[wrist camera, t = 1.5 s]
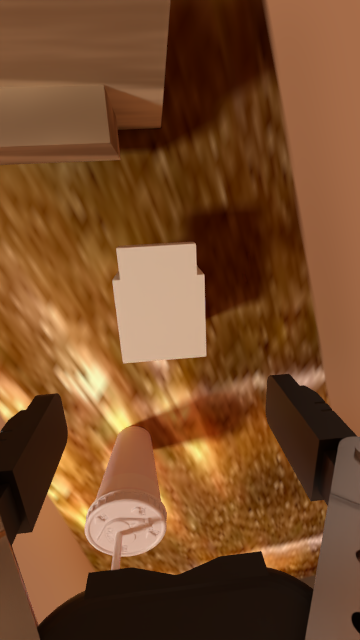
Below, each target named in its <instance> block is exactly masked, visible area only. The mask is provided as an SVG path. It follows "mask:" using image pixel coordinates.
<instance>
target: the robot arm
mask: <svg viewBox="0 0 360 640" xmlns="http://www.w3.org/2000/svg"><path fill="white" fill-rule="evenodd" d="M266 417H267V421H268V424H269V426H270V428H271V430H272V432H273V434H274V435H275V437H276V439H277V441H278V443H279V444H280V446H281V448H282V450H283V452H284V453H285V455H286V457H287V459H288V461H289V463H290V464H291V466H292V468H293V470H294V472H295V473H296V475H297V477H298V479H299V481H300V482H301V484H302V486H303V488H304V490H305V492H306V493H307V495H308V497H309V499H310V501H317V500H325V502H326V504H327V505H328V508H327V514H326V520H325V526H324V532H323V538H322V543H321V549H320V555H319V561H318V567H317V573H316V578H315V584H314V589H312V588H311V587H309V586H308V585H307V584H305V583H304V582H302V581H300V580H299V579H297V578H295V577H293V576H291V575H289V574H287V573H285V572H282V571H279V570H276V569H272V568H267V567H266V565H265V562H264V558H263V555H262V552H261V551H260V552H252V553H244V554H236V555H228V556H220V557H218V558H216V559H213V560H211V561H209V562H207V563H204V564H202V565H200V566H198V567H195V568H193V569H191V570H189V571H186V572H184V573H182V574H179V575H171V574H166V573H160V572H155V571H149V570H143V569H138V568H124V569H116V570H108V571H100V572H92V573H89V574H88V579H87V584H86V590H85V591H84V592H81V593H79V594H77V595H76V596H74V597H72V598H70V599H69V600H67V601H66V602H65V603H63V604H62V605H60V606H59V607H58V608H57V609H55V610H54V611H53V612H52V613H51V614H50V615H48V617H46V618H45V619H44V620H43V621H42V622H41V623H40V624H39V625H38V622H37V619H36V617H35V614H34V611H33V608H32V605H31V602H30V599H29V596H28V593H27V590H26V587H25V584H24V581H23V578H22V575H21V572H20V569H19V566H18V563H17V560H16V557H15V554H14V551H13V548H12V544H13V541H14V539H15V537H16V535H17V534H20V533H28V532H32V531H33V528H34V525H35V523H36V520H37V518H38V515H39V513H40V510H41V508H42V505H43V502H44V500H45V497H46V495H47V492H48V490H49V487H50V484H51V482H52V479H53V477H54V474H55V472H56V469H57V467H58V464H59V461H60V459H61V456H62V454H63V451H64V449H65V446H66V443H67V436H68V431H67V424H66V420H65V415H64V410H63V406H62V401H61V397H60V395H59V394H46V395H37V396H35V398H34V399H33V400H32V402H31V403H30V405H29V406H28V408H27V409H26V410H21V411H20V412H18V413H17V414H16V415H15V416H13V417H12V418H11V419H9V420H8V422H7V423H6V424H5V426H4V427H3V428H2V430H1V433H0V640H360V437H357V436H356V435H355V433H354V432H353V431H352V430H351V429H350V428H349V427H348V426H347V425H346V424H345V423H344V422H343V420H342V419H341V418H340V417H339V416H338V415H337V414H336V413H335V412H334V411H332V409H331V408H330V406H329V405H328V404H327V403H325V401H324V400H323V399H322V398H321V397H320V396H319V395H318V393H316V392H315V391H313V390H311V389H310V388H308V387H306V386H299V385H298V383H297V382H296V381H295V380H294V379H293V378H292V376H291V375H289V374H282V375H270V376H269V377H268V380H267V395H266Z"/></svg>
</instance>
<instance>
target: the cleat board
mask: <svg viewBox="0 0 360 640" xmlns="http://www.w3.org/2000/svg"><path fill="white" fill-rule="evenodd" d="M169 14H170V0H0V165H7V164H32V163H56V162H80V161H104V160H121V159H120V149H119V140H118V130H122V129H150V128H161V120H162V106H163V93H164V80H165V67H166V53H167V40H168V27H169Z"/></svg>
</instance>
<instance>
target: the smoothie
mask: <svg viewBox="0 0 360 640" xmlns="http://www.w3.org/2000/svg"><path fill="white" fill-rule="evenodd" d="M166 519H167V512H166V509H165V506H164V505H163V503H162V502H161V499H160V492H159V486H158V480H157V473H156V467H155V461H154V454H153V448H152V441H151V436H150V434H149V432H148V431H147V430H145V429H144V428H142V427H138V426H131V427H127V428H125V429H123V430H122V431H121V432H120V433H119V434H118V436H117V439H116V442H115V445H114V448H113V451H112V454H111V457H110V460H109V463H108V466H107V468H106V471H105V474H104V477H103V480H102V483H101V486H100V489H99V491H98V494H97V497H96V500H95V501H94V502H93V504H92V505H91V506H90V508H89V510H88V513H87V516H86V524H85V534H86V537H87V539H88V541H89V542H90V544H91V545H92V546H93V547H95V548H96V549H97V550H99V551H101V552H103V553H106V554H109V555H113V559H112V567H111V570H116V569H119V567H120V557H121V556H134V555H138V554H141V553H144V552H146V551H148V550H150V549H152V548H153V547H155V546H156V545H157V544H158V543H159V542H160V541H161V540H162V538H163V536H164V534H165V532H166Z"/></svg>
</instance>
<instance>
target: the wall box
mask: <svg viewBox="0 0 360 640" xmlns="http://www.w3.org/2000/svg"><path fill="white" fill-rule="evenodd" d="M116 251H117V259H118V267H119V271H118V273H117V274H116V276H115V277H114V279H113V280H112V282H113V290H114V298H115V305H116V313H117V320H118V328H119V336H120V343H121V351H122V359H123V363H132V362H144V361H156V360H169V359H181V358H193V357H205V356H206V323H205V277H204V273H203V272H202V271H201V270H200V269H199V267H198V266H197V262H196V243H194V242H178V243H162V244H145V245H128V246H118V247H117V248H116Z"/></svg>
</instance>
